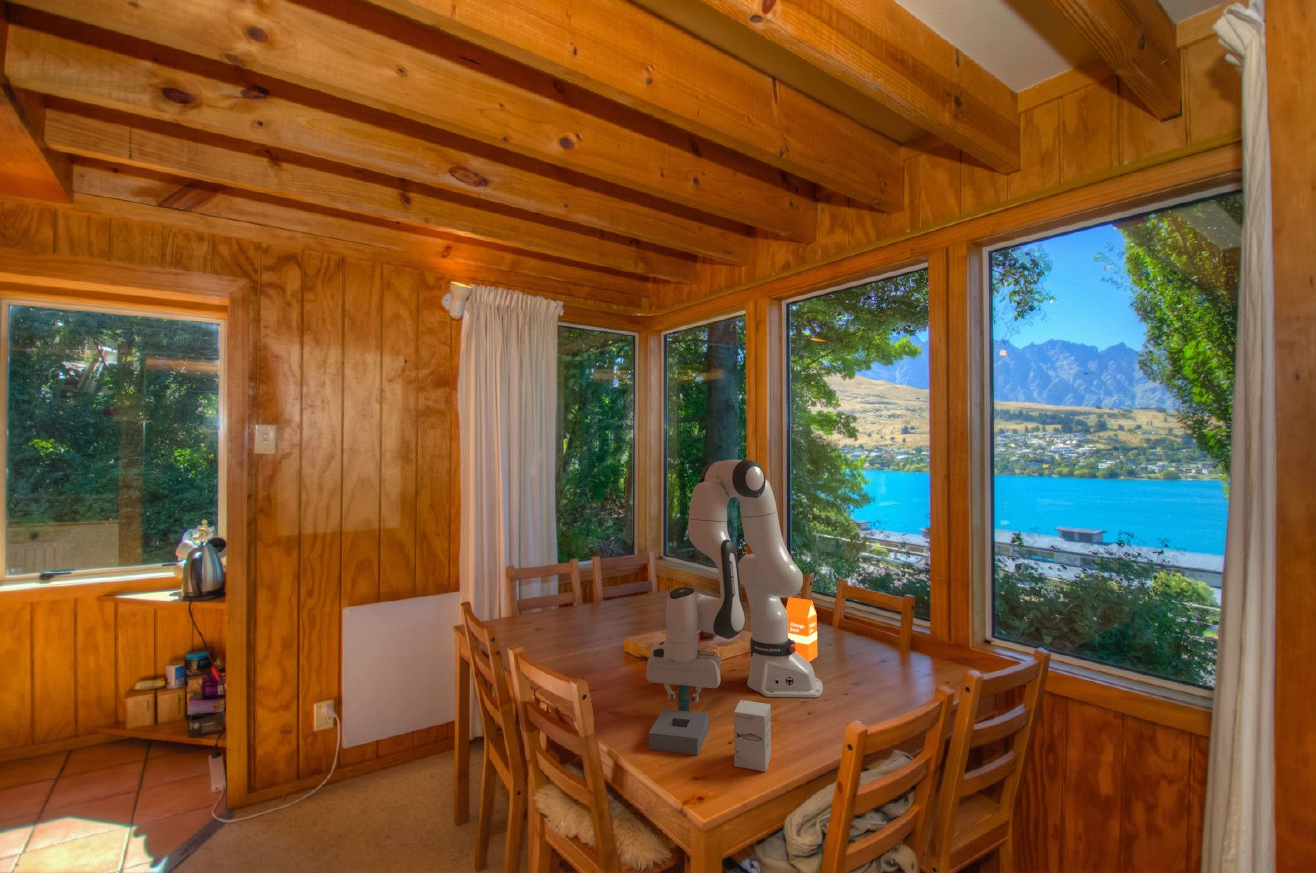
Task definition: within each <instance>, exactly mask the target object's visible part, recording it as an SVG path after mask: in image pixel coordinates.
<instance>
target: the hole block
mask: <svg viewBox="0 0 1316 873" xmlns="http://www.w3.org/2000/svg"><path fill="white" fill-rule="evenodd" d="M709 719H710V718H709V713H708V712H701V711H700V712H699V711H691V710H689V711H681V710H678V709H671V708H663V709H662V710H661V712H660V714H659V715H658V717H657V719H656V720H655V721H654V723H653V724H652V727H651V728H650V730H649V731H648V750H651V751H659V752H664V753H665V752H667V753H676V754H684V755H691V756H698V755H699V753H700V751H701V748H702V746H703V743H704V741H705V738H706V737H707V734H708V732H709V729H710V728H709V726H710V725H709V722H710V721H709Z"/></svg>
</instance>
